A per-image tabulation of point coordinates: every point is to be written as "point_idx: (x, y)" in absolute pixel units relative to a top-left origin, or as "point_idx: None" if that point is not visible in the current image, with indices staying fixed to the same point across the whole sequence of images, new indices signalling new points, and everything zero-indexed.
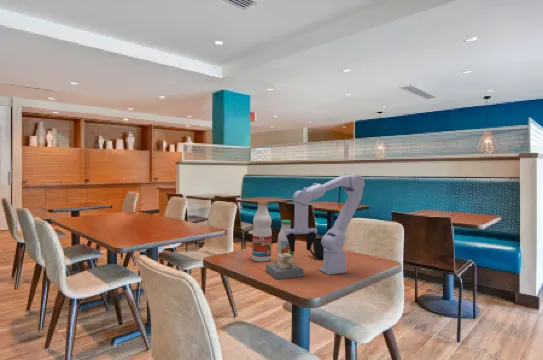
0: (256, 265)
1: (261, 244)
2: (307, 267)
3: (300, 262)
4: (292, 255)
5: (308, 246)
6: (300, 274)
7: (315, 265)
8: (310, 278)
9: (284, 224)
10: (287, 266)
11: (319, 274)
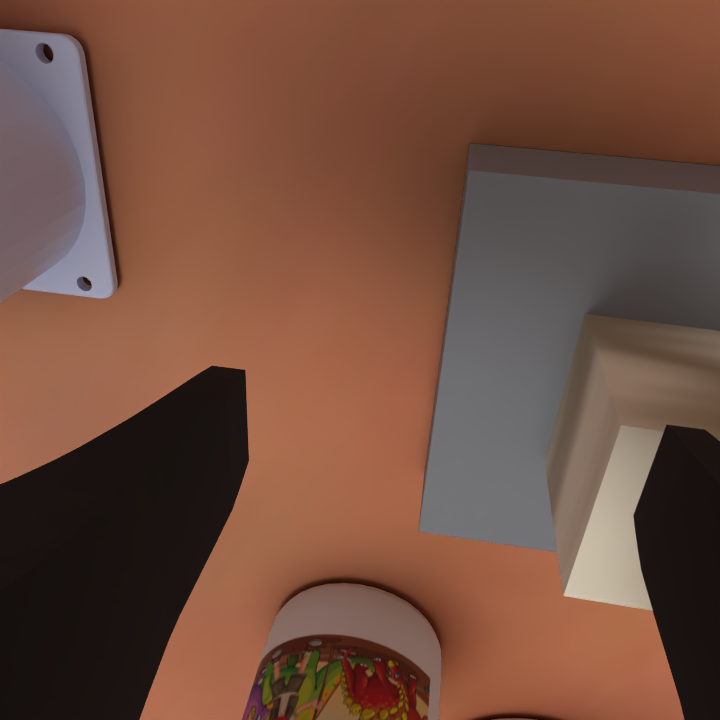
0: None
1: None
2: None
3: (210, 568)
4: (289, 658)
5: (209, 460)
6: (523, 154)
7: (95, 432)
8: (428, 9)
9: None
10: (683, 337)
11: (203, 121)
